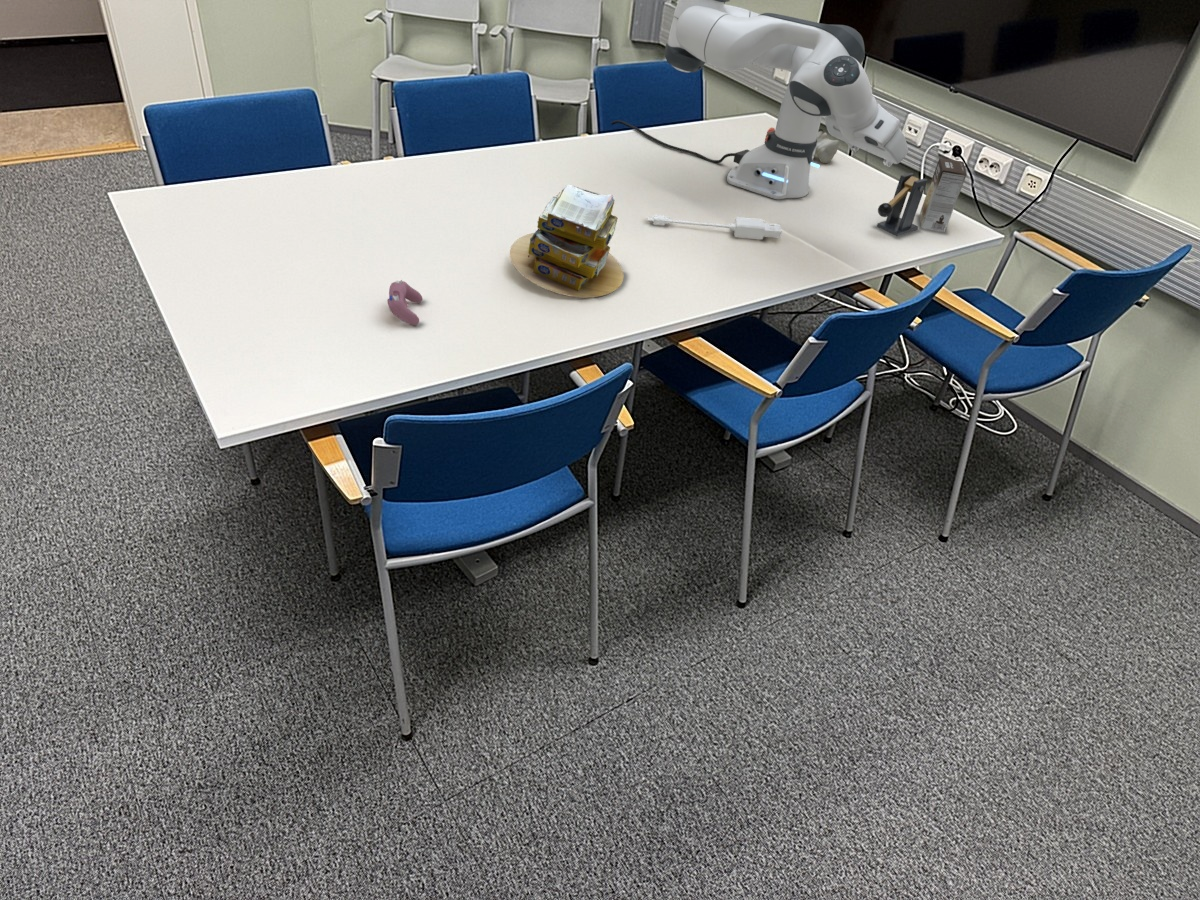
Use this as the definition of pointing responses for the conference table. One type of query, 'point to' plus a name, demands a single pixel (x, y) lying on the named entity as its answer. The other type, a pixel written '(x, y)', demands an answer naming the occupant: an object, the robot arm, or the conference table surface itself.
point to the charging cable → (733, 226)
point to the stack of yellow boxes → (571, 246)
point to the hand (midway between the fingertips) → (872, 156)
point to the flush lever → (896, 198)
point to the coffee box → (942, 194)
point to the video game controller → (403, 301)
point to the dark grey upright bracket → (904, 224)
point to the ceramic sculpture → (825, 147)
